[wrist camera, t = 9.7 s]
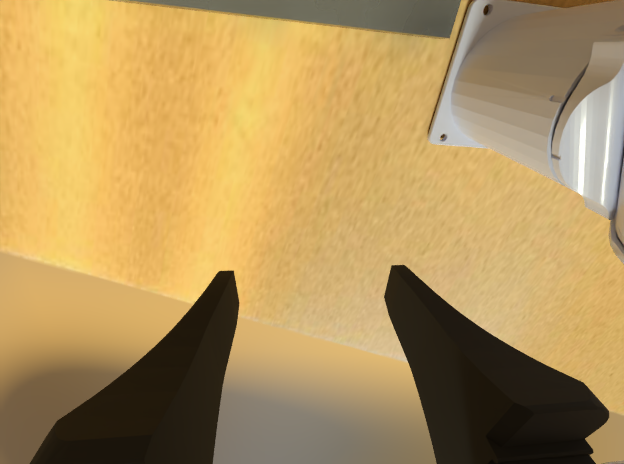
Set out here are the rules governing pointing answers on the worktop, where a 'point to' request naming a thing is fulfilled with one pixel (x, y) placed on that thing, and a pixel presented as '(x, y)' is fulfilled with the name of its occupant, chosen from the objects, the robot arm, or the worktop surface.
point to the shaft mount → (338, 13)
